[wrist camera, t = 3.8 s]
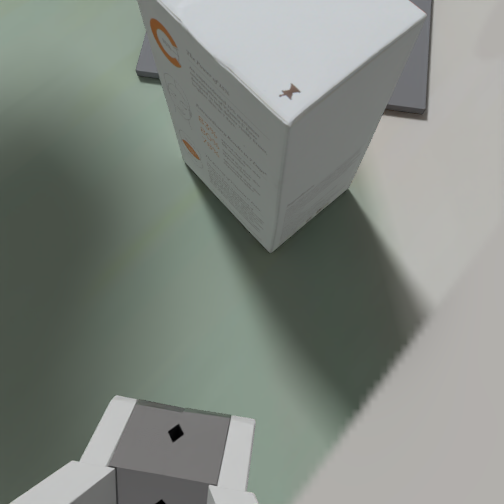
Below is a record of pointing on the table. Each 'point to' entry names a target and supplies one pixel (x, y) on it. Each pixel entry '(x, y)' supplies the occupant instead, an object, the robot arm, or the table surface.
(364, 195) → the table surface
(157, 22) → the small box
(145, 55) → the mat
